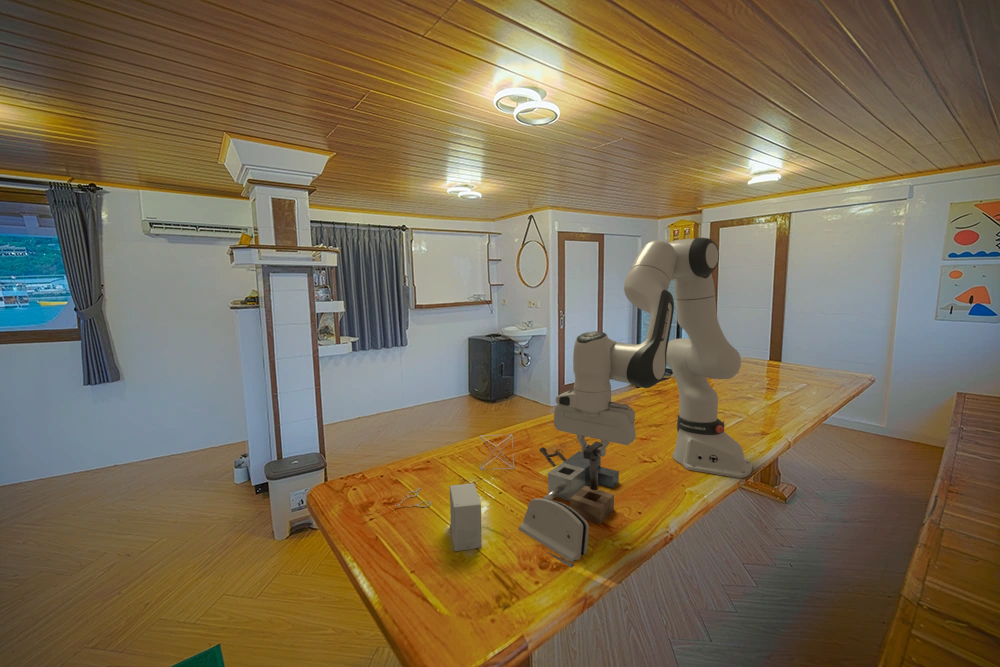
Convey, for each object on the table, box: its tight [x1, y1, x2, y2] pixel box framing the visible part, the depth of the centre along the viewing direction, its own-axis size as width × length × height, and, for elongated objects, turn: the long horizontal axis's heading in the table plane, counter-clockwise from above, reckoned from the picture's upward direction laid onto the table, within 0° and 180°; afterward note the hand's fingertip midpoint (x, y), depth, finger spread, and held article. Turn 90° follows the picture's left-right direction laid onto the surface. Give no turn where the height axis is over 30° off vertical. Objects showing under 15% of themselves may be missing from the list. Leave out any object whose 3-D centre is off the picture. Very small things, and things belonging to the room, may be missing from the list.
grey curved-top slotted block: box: [518, 497, 590, 568], centre depth 93 cm, size 17×5×10 cm, turn 41°
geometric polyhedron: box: [479, 434, 515, 471], centre depth 133 cm, size 12×11×9 cm
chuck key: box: [583, 441, 603, 490], centre depth 102 cm, size 3×7×11 cm, turn 142°
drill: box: [543, 450, 620, 502], centre depth 112 cm, size 25×13×7 cm, turn 142°
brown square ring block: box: [569, 486, 615, 525], centre depth 103 cm, size 8×8×5 cm
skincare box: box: [449, 482, 483, 552], centre depth 96 cm, size 10×6×10 cm, turn 12°
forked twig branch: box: [539, 446, 567, 468], centre depth 135 cm, size 24×10×2 cm, turn 13°
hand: (593, 453), depth 102 cm, fingers closed on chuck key, 3 cm apart
